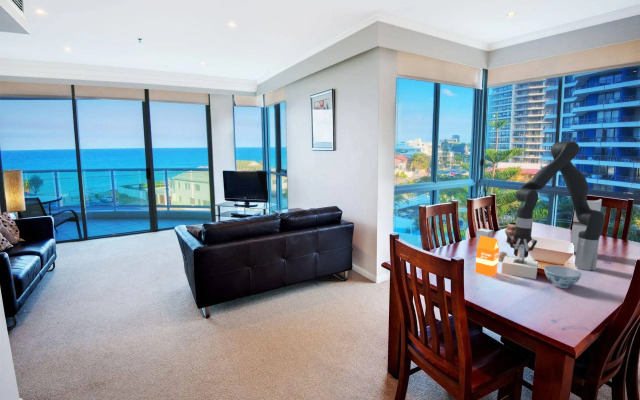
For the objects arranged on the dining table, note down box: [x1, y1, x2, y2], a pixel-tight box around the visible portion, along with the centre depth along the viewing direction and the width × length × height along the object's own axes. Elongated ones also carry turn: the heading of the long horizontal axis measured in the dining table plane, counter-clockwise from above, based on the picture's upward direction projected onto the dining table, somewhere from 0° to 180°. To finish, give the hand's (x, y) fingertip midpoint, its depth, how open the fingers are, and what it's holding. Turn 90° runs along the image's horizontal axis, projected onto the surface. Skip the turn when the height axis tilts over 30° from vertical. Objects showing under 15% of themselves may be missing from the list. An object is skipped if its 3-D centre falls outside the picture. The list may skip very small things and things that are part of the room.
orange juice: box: [474, 236, 500, 278], centre depth 186 cm, size 8×9×20 cm
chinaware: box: [543, 264, 582, 289], centre depth 170 cm, size 15×15×8 cm
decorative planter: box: [504, 222, 523, 246], centre depth 238 cm, size 20×12×14 cm, turn 132°
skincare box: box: [475, 227, 494, 252], centre depth 219 cm, size 8×6×15 cm
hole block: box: [500, 256, 539, 280], centre depth 187 cm, size 16×12×6 cm
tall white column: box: [570, 198, 603, 256], centre depth 212 cm, size 11×11×35 cm
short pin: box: [498, 251, 508, 263], centre depth 205 cm, size 4×4×5 cm
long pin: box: [515, 244, 526, 264], centre depth 186 cm, size 4×4×10 cm
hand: (520, 256), depth 186 cm, fingers closed on long pin, 4 cm apart
